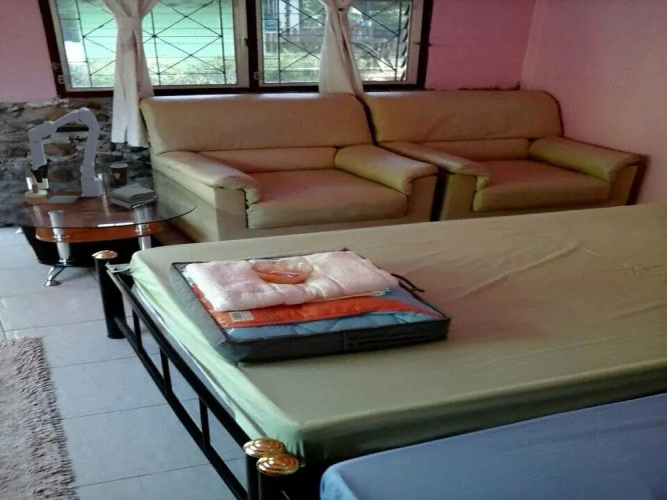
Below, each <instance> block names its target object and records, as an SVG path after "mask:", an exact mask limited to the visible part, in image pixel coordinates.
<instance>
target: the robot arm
mask: <svg viewBox="0 0 667 500" xmlns="http://www.w3.org/2000/svg"><path fill="white" fill-rule="evenodd" d="M80 121H81V122H82V123H84V124H85V125H86V126H87V127H88V133H87V134H88V135H87V140H86V141H87V142H86V145H85V146H86V147H85V153H84V158H83V160H82V164H81V165H80V167H79V172H80V174H81V176H80V182H81V188H82V189H81V190H82V194H80V197H100V196H101V195H102V194H103V193H104V191H103V182H102V179H101V178H100V177H97V176H96V171H95V160H96V155H97V153H96V152H97V149H98V148H97V147H98V142H99V136H100V135H99V134H100V131H101V126H100V123H99V122H98V120H97V118H96V116H95V114H93V112H92V111H91V110H90V109H89V108H87V107H85V106H82V107H80V108H78V109H74V110H72V111H69V113H67V114H65V115H63V116H61V117H59V118H58V119H56V120H54V121H52V120H48V121H47V120H45V121H44V122H43V123H41V124H39V125H38V126H37V125H36V126H34V127H33V128H30V129H29V130H28V131H27V137H28V139H29V149H30V153H31V158H32V159H31V160H32V161H31V162H30V165H32V166H31V168H30V169H29V171H30V172H31V173H32V176H33V175H34V177H35V179H36V181H37V183H42V178H43V179H47V180H48V177H49V176H48V174H49V168H50V163H48V161H47V158H46V156H45V148H44V144H43V141H42V139H43V138H47V137H48V136H50V135H51V134H54V133H55V132H57V129H58V128H60V127H62V126H64V125H66V124H69V123H71V122H80Z"/></svg>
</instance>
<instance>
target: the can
mask: <svg viewBox="0 0 667 500" xmlns="http://www.w3.org/2000/svg"><path fill="white" fill-rule="evenodd" d="M32 178H33V184H37V185H38V190H47V189H49V183H48V181H49V180H48V178H47V179H43V178H42V183H37V181H36V179H35V177H34V175H33V174H32Z"/></svg>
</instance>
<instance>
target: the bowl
mask: <svg viewBox="0 0 667 500" xmlns="http://www.w3.org/2000/svg"><path fill="white" fill-rule="evenodd" d="M25 198H26V201H27V204H28V205H40V204H46V202H47V195H45V196H43V197H37V198H29V197H25Z"/></svg>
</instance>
